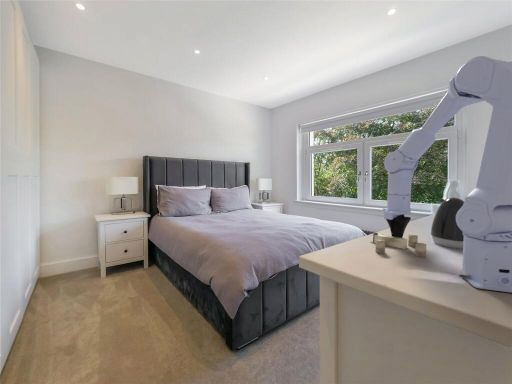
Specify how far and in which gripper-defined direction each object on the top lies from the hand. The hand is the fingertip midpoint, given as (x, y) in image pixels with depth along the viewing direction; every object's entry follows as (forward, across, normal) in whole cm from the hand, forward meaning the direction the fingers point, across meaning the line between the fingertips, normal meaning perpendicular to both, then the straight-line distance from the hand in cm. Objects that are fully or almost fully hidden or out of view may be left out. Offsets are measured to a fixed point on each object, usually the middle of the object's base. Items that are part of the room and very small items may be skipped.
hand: (396, 240), depth 68 cm
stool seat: (+2, +4, +1) cm, 5 cm away
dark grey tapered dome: (+3, -13, +10) cm, 17 cm away
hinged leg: (+1, +2, -1) cm, 3 cm away
